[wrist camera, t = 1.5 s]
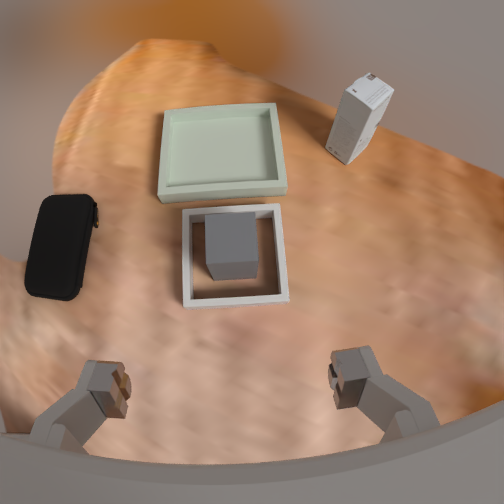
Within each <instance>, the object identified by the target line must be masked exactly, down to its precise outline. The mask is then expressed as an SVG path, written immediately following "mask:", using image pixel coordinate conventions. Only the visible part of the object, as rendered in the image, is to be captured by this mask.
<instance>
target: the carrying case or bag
mask: <svg viewBox="0 0 504 504" xmlns="http://www.w3.org/2000/svg"><path fill="white" fill-rule="evenodd" d="M93 223H94V226H95V228H98V225H99V221H98V208H97V203H96V202H94V200H93V199H92V197H90V196H89V195H87V194H73V195H51V196H49V197H47V198H45V199H44V200H43V202H42V204H41V206H40V209H39V213H38V217H37V220H36V224H35V228H34V232H33V237H32V241H31V246H30V251H29V256H28V261H27V267H26V273H25V282H24V283H25V288H26V290H27V292H28V293H29V294H30V295H31V296H35V297H41V298H47V299H54V300H61V301H70V300H72V299H74V298H75V297H76V296H77V295H78V293H79V291H80V288H82V283H83V276H84V270H85V264H86V258H87V253H88V247H89V242H90V237H91V232H92V227H93Z"/></svg>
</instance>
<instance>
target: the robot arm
mask: <svg viewBox="0 0 504 504" xmlns="http://www.w3.org/2000/svg"><path fill="white" fill-rule="evenodd" d="M330 358H331V361H332V363H331V364H330V365H329V369H328V379H329V384H330V387H331V388H332V389H333V390H334V395H333V398H334V401H335V405H336V408H337V409H344V408H351V407H357V406H358V407H357V408H358V409H360V410H361V411H362V412H363V413H364V414H365V415H366V416H367V417H368V418H369V419H371V420H372V421H373V422H374V423H375V424H376V425H377V426H378V427H379V428H381V429H382V430H383V431H384V432H385V434H384V436H383V438H382V439H381V441H380V443H379V444H376V445H372V446H367V447H363V448H358V449H353V450H348V451H343V452H338V453H333V454H327V455H321V456H314V457H307V458H300V459H292V460H283V461H272V462H260V463H245V464H215V465H196V464H166V463H151V462H139V461H130V460H121V459H113V458H106V457H99V456H93V455H89V453H88V452H87V451H86V450H85V449H84V448H83V447H82V446H83V445H84V444H85V443H86V442H87V440H88V439H89V438H90V437H91V436H92V435H93V434H94V433H95V431H96V430H97V429H98V428H99V427H100V426H101V425H102V423H103V422H104V421H105V420H106V419H107V418H121V419H125V417H126V413H127V408H128V405H127V403H126V400H128V399H129V398H130V395H131V381H130V378H129V375H127V374H126V373H125V372H124V370H125V367H124V365H123V363H122V362H113V361H96V360H88V361H87V362H86V363H85V365H84V368H83V370H82V373H81V375H80V378H79V380H78V383H77V386H76V388H75V389H72V390H70V391H69V392H68V393H67V394H66V395H64V396H63V397H62V398H61V399H59V400H58V401H57V402H56V403H54V404H53V405H52V406H51V407H49V408H48V409H47V410H46V411H45V412H43V413H42V414H41V415H40V416H38V417H37V418H36V420H35V422H34V425H33V427H32V430H31V433H30V434H23V433H0V504H504V400H502V401H500V402H498V403H496V404H493V405H491V406H489V407H487V408H484V409H482V410H480V411H477V412H475V413H473V414H470V415H468V416H465V417H462V418H460V419H457V420H455V421H452V422H449V423H446V424H444V425H440V423H439V421H438V419H437V417H436V415H435V413H434V410H433V408H432V406H431V404H430V402H428V401H427V400H425V399H424V398H422V397H421V396H419V395H417V394H416V393H414V392H413V391H411V390H410V389H408V388H407V387H405V386H404V385H402V384H401V383H399V382H398V381H396V380H394V379H393V378H391V377H390V376H388V375H383V373H382V371H381V368H380V366H379V364H378V362H377V360H376V357H375V355H374V353H373V351H372V349H371V347H370V346H363V347H357V348H349V349H343V350H336V351H332V353H331V357H330Z"/></svg>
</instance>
